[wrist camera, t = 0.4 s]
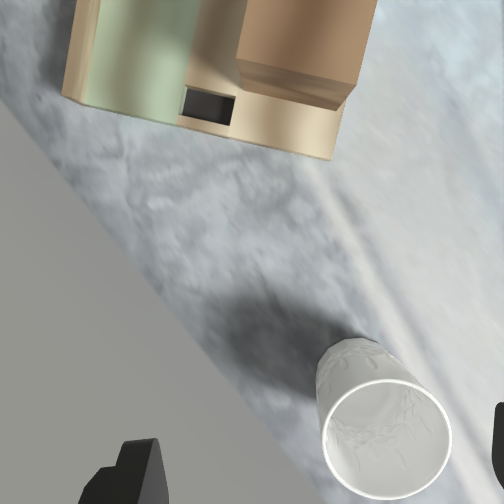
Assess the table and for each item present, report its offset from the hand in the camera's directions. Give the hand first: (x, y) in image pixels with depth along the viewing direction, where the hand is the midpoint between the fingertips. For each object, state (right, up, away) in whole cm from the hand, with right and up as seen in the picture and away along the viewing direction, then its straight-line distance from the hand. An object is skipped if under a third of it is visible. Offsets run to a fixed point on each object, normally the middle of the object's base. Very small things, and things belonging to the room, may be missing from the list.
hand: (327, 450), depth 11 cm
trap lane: (-4, +20, +24) cm, 32 cm away
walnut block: (+2, +19, +22) cm, 29 cm away
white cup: (+7, -6, +27) cm, 28 cm away
